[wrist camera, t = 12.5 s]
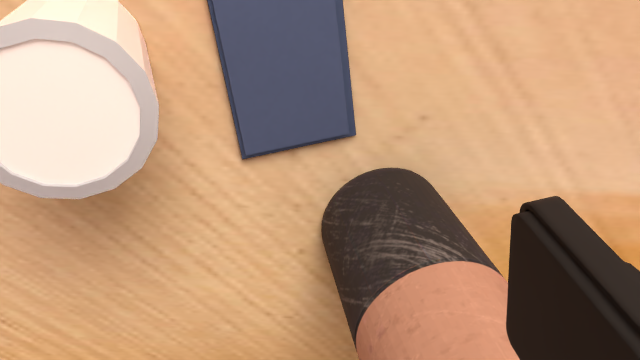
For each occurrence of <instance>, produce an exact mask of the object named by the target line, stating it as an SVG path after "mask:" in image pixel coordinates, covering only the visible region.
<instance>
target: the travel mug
mask: <svg viewBox="0 0 640 360" xmlns="http://www.w3.org/2000/svg"><path fill="white" fill-rule="evenodd" d="M322 238H323V243H324V246H325V250H326V253H327V256H328V260H329V263H330V266H331V270H332V273H333V276H334V279H335V283H336V286H337V289H338V292H339V296H340V299H341V302H342V305H343V309H344V312H345V315H346V318H347V321H348V325H349V328H350V331H351V334H352V338H353V341H354V344H355V347H356V351H357V353H358V357H359V360H520V359H519V357H518V356H517V354H516V352H515V351H514V349H513V348H512V346H511V344H510V341H509V339H508V335H507V331H506V315H507V296H508V283H507V281H506V280H505V279H504V277H503V276H502V275H501V273H500V272H499V271H498V269H497V268H496V267H495V266H494V264H493V263H492V262H491V260H490V259H489V258H488V257H487V255H486V254H485V253H484V251H483V250H482V249H481V248H480V246H479V245H478V244H477V242H476V241H475V240H474V239H473V237H472V236H471V235H470V233H469V232H468V231H467V230H466V228H465V227H464V226H463V225H462V223H461V222H460V221H459V219H458V218H457V217H456V216H455V214H454V213H453V212H452V210H451V209H450V208H449V207H448V205H447V204H446V203H445V201H444V200H443V199H442V198H441V196H440V195H439V194H438V193H437V191H436V190H435V189H434V188H433V186H432V185H431V184H430V183H429V182H428V181H427V180H426V179H424V178H423V177H421V176H420V175H418V174H416V173H414V172H412V171H409V170H405V169H400V168H383V169H377V170H373V171H370V172H366V173H364V174H362V175H360V176H358V177H356V178H354V179H352V180H351V181H349V182H348V183H347V184H345V185H344V186H343V187H342V188H341V189H340V190H339V191H338V192H337V193H336V194H335V195H334V196H333V198H332V199H331V201H330V202H329V204H328V206H327V208H326V210H325V213H324V216H323V220H322Z"/></svg>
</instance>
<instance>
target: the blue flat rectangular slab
mask: <svg viewBox="0 0 640 360" xmlns="http://www.w3.org/2000/svg"><path fill="white" fill-rule="evenodd" d="M207 1H208V6H209V10H210V15H211V19H212V24H213V28H214V33H215V38H216V42H217V47H218V51H219V56H220V60H221V65H222V69H223V74H224V78H225V83H226V87H227V92H228V96H229V101H230V106H231V110H232V115H233V119H234V124H235V128H236V133H237V137H238V142H239V146H240V151H241V155H242V159H247V158H251V157H256V156H261V155H265V154H270V153H275V152H279V151H284V150H289V149H293V148H298V147H303V146H308V145H312V144H317V143H322V142H326V141H331V140H336V139H340V138H345V137H350V136H354V135H356V130H355V120H354V110H353V100H352V90H351V80H350V70H349V60H348V50H347V40H346V30H345V20H344V9H343V0H207Z"/></svg>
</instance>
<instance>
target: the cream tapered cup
mask: <svg viewBox="0 0 640 360" xmlns="http://www.w3.org/2000/svg"><path fill="white" fill-rule="evenodd" d="M158 119H159V103H158V98H157V93H156V89H155V84H154V79H153V75H152V70H151V65H150V61H149V56H148V51H147V46H146V43H145V40H144V38H143V35H142V33H141V30H140V27H139V25H138V22H137V20H136V19H135V18H134V17H133V16H132V15H131V14H130V13H129V12H128V11H127V9H126V8H125V7H124V6H123V5H122V4H121V3H120V2H119V1H118V0H27V1H26V2H24V3H23V4H22V5H20V6H19V7H18V8H16V9H15V10H14V11H13V12H11V13H10V14H9V15H7V16H6V17H5V18H3V19H2V20H1V21H0V183H1V184H3V185H5V186H8V187H11V188H14V189H16V190H19V191H22V192H25V193H28V194H31V195H34V196H37V197H40V198H57V199H82V198H86V197H89V196H92V195H96V194H99V193H102V192H106V191H109V190H112V189H115V188H116V187H118V186H119V185H120V184H122V183H123V182H124V181H126V180H127V179H128V178H130V177H131V176H132V175H133V174H135V173H136V172H137V171H139V170H140V169H141V168H142V167H143V165H144V163H145V161H146V160H147V158H148V156H149V154H150V152H151V150H152V149H153V147H154V145H155V143H156V141H157V139H158Z"/></svg>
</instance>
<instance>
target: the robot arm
mask: <svg viewBox="0 0 640 360" xmlns="http://www.w3.org/2000/svg"><path fill="white" fill-rule="evenodd" d="M506 331H507V335H508V339H509V341H510V344H511V346H512V348H513V349H514V351H515V352H516V354H517V356H518V357H519V359H520V360H640V271H639V270H637V269H636V268H635V267H634V266H632V265H631V264H630V263H627V262H624V261H623V260H622V259H621V258H620V257H619V256H618V255H617V254H616V253H615V252H614V251H613V250H612V249H611V248H610V247H609V246H608V245H607V244H606V243H605V242H604V241H603V240H602V239H601V238H600V237H599V236H598V235H597V234H596V233H595V232H594V231H593V230H592V229H591V228H590V227H589V226H588V225H587V224H586V223H585V222H584V221H583V220H582V219H581V218H580V217H579V216H578V215H577V214H576V213H575V212H574V210H573V209H572V208H571V207H570V206H569V205H568V204H567V203H566V202H565V201H564V200H562V199H561V198H560V197H557V196H553V197H549V198H544V199H540V200H536V201H531V202H527V203H524V204H522V206H521V208H520V213H518V214H515V215H513V217H512V221H511V239H510V258H509V277H508V296H507V315H506Z"/></svg>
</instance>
